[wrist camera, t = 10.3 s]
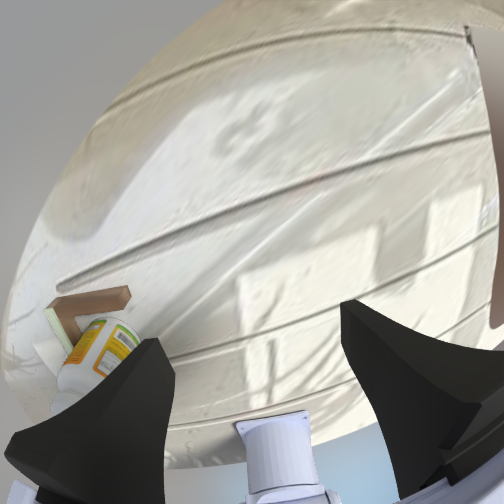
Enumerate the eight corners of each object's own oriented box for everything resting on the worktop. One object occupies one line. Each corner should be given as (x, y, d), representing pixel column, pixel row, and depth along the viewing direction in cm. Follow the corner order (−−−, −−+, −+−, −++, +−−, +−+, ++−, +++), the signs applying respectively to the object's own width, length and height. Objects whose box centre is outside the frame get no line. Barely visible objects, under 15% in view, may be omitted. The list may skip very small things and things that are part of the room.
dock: (169, 378, 23) (165, 395, 21) (101, 379, 23) (94, 395, 21) (127, 285, 19) (116, 299, 17) (56, 297, 19) (43, 310, 17)
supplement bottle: (91, 352, 21) (51, 426, 12) (88, 307, 20) (32, 384, 11) (142, 369, 22) (115, 453, 13) (145, 325, 21) (107, 418, 11)
